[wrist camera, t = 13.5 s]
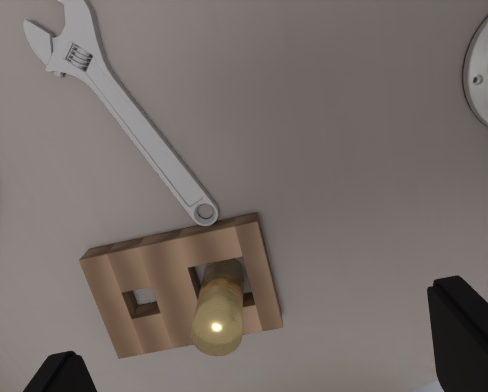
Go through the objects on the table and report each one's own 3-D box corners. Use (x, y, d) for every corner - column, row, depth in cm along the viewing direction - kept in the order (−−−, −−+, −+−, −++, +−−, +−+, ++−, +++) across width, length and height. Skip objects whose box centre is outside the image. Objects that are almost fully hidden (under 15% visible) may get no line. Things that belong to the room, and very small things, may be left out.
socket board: (257, 212, 39) (257, 221, 37) (281, 313, 42) (283, 327, 40) (89, 249, 41) (78, 260, 38) (125, 343, 44) (118, 358, 42)
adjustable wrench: (225, 211, 40) (224, 218, 38) (173, 240, 41) (170, 248, 39) (73, -25, 33) (63, -30, 32) (16, 17, 34) (4, 14, 33)
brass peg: (238, 252, 40) (235, 308, 31) (248, 287, 42) (247, 350, 32) (199, 260, 41) (184, 318, 31) (210, 295, 42) (198, 360, 32)
